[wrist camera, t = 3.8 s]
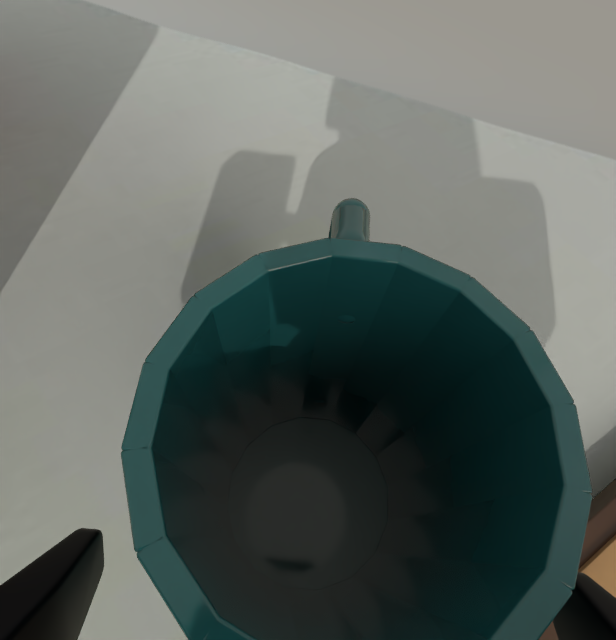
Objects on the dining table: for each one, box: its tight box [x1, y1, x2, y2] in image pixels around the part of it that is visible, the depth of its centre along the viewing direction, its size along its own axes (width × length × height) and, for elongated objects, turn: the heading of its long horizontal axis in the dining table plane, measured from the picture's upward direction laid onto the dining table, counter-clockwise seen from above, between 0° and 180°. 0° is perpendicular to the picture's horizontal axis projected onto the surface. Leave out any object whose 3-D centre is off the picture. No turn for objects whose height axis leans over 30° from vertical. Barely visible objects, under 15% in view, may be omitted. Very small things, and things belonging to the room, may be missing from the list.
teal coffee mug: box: [121, 198, 592, 640], centre depth 13 cm, size 10×7×12 cm
